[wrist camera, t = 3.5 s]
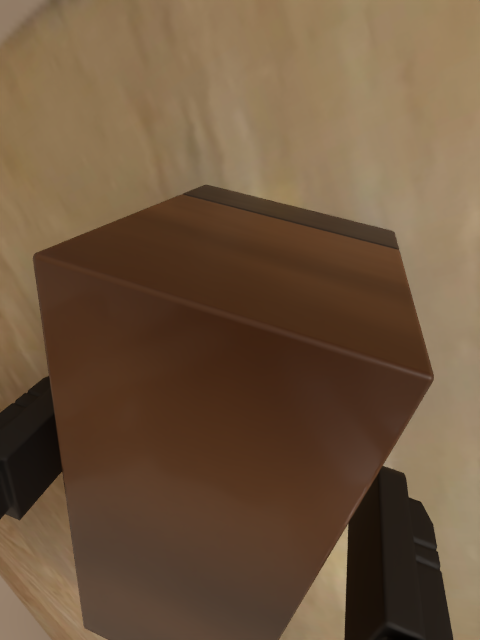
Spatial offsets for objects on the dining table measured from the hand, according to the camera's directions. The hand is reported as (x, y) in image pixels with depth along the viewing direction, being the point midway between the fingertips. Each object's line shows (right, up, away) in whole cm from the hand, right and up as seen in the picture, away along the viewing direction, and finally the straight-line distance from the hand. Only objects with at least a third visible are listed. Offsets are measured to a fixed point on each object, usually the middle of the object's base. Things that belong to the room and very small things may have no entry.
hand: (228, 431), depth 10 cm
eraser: (+1, +1, +2) cm, 2 cm away
